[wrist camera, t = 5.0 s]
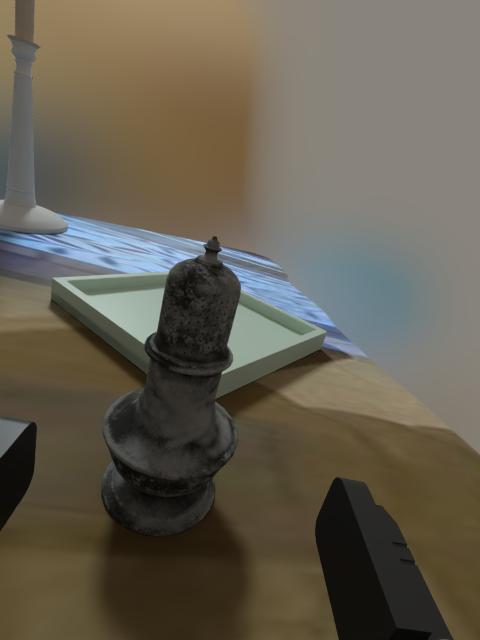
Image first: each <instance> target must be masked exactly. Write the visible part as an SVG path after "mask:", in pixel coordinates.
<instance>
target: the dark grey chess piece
mask: <svg viewBox="0 0 480 640" xmlns="http://www.w3.org/2000/svg"><path fill="white" fill-rule="evenodd" d="M219 244H220V243H219V242H218V241H217V237H215V236H213V237H212V239H210V240H209V241H208V243H207V244H204V245H203V246H204V248H205V249H206V253H205V255H200V256H198V257H197V258H196V259H187V260H184V261H182V262H179V263H177V264H176V265H175V266H174V267H173V268H171V270H170V271H169V274H168V276H167V278H166V284H165V289H164V295H163V300H162V306H161V311H160V317H159V323H158V328H157V332H155V333H153V334H151V335H150V336H149V337H147V339H146V341H145V344H144V346H145V351H146V353H147V355H148V356H149V357H150V362H149V367H148V373H147V379H146V384H145V387H144V388H141V389H138V390H134V391H131V392H129V393H127V394H126V395H124V396H122V397H120V398H118V399H117V400H116V401H115V402H114V403H113V404H112V405H111V406H110V407H109V409H108V411H107V413H106V415H105V417H104V419H103V436H104V439H105V441H106V444H107V447H108V448H109V451H110V454H111V457H112V460H113V461H112V462H111V463H110V465H109V466H108V467H107V469H106V471H105V474H104V476H103V479H102V493H101V494H102V497H103V501H104V504H105V507H106V508H107V510H108V511H109V513H110V514H111V515H112V517H113V518H114V519H115V520H116V521H118V522H119V523H120V524H122V525H123V526H124V527H125V528H128V529H130V530H133V531H135V532H137V533H140V534H145V535H152V536H165V535H175V534H177V533H180V532H183V531H185V530H188V529H190V528H191V527H193V526H194V525H196V524H197V523H198V522H200V521H201V520H202V519H203V518H204V516H205V515H206V514H207V513H208V511H209V510H210V507H211V505H212V502H213V499H214V495H215V483H214V480H213V477H214V476H215V474H216V473H217V472H218V471H219V470H220V469H221V467H223V466H224V465H225V464H226V463H227V462H228V461H229V460H230V458H231V457H232V456H233V454H234V451H235V449H236V446H237V443H238V436H237V429H236V426H235V424H234V421H233V419H232V418H231V416H230V415H229V414H228V413H227V411H226V410H225V409H224V408H223V407H222V406H220V405H219V404H218V403H217V402H216V401H215V397H216V393H217V390H218V386H219V382H220V378H221V375H222V372H223V371H225V370H226V369H228V368H229V367H230V366H231V364H232V362H233V354H232V352H231V350H230V348H229V347H228V346H227V344H228V341H229V337H230V333H231V329H232V325H233V322H234V318H235V314H236V310H237V306H238V303H239V299H240V295H241V285H240V282H239V280H238V277H237V276H236V275H235V274H234V273H233V272H232V270H231V269H230V268H228V267H226V266H224V265H223V263H222V261H221V260H219V259H217V253H218V252H220V251H222V249H221V248H220V247H219Z"/></svg>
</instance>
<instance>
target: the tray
mask: <svg viewBox="0 0 480 640" xmlns="http://www.w3.org/2000/svg"><path fill="white" fill-rule="evenodd" d="M168 274H169V272H152V273H134V274H115V275H97V276H79V277H61V278H52V293H51V299H52V300H53V301H54V302H56V303H57V304H58V305H60V306H61V307H62V308H63V309H65V310H66V311H67V312H68V313H70V314H71V315H72V316H74V317H75V318H76V319H77V320H79V321H80V322H81V323H82V324H84V325H85V326H86V327H87V328H89V329H90V330H91V331H93V332H94V333H95V334H96V335H98V336H99V337H100V338H101V339H103V340H104V341H105V342H107V343H108V344H109V345H110V346H112V347H113V348H114V349H115V350H117V351H118V352H119V353H121V354H122V355H123V356H124V357H126V358H127V359H128V360H129V361H131V362H132V363H133V364H135V365H136V366H137V367H138V368H140V369H141V370H142V371H143V372H145V373H146V374H147V373H148V367H149V362H150V357H149V356H148V355H147V353H146V351H145V346H144V344H145V341H146V339H147V337H149V336H150V335H151V334H153V333H155V332H157V328H158V323H159V317H160V311H161V306H162V300H163V295H164V289H165V284H166V278H167V276H168ZM326 334H327V331H325V330H323V329H321V328H319V327H317V326H314V325H312V324H310V323H308V322H306V321H304V320H302V319H300V318H298V317H296V316H294V315H292V314H290V313H288V312H286V311H284V310H282V309H279V308H277V307H275V306H273V305H271V304H269V303H267V302H265V301H263V300H261V299H259V298H257V297H255V296H253V295H251V294H249V293H247V292H244V291H242V290H241V295H240V299H239V303H238V306H237V310H236V314H235V318H234V322H233V325H232V329H231V333H230V337H229V341H228V344H227V346H228V347H229V348H230V350H231V352H232V354H233V362H232V364H231V366H230V367H229V368H228V369H226V370H225V371H223V372H222V375H221V378H220V382H219V386H218V390H217V393H216V397H215V399H217V398H219V397H221V396H223V395H225V394H227V393H229V392H231V391H234V390H236V389H238V388H240V387H242V386H244V385H246V384H248V383H250V382H252V381H255V380H257V379H259V378H261V377H263V376H265V375H267V374H269V373H271V372H273V371H275V370H278V369H280V368H282V367H284V366H286V365H288V364H290V363H292V362H294V361H296V360H299V359H301V358H303V357H305V356H307V355H309V354H311V353H313V352H315V351H317V350H320V349H321V347H322V344H323V342H324V339H325V336H326Z"/></svg>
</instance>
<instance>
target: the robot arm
mask: <svg viewBox="0 0 480 640" xmlns="http://www.w3.org/2000/svg"><path fill="white" fill-rule="evenodd" d="M36 432H37V426H36V423H34V422H30V421H25V420H19V419H14V418H8V417H1V418H0V531H1V529H2V528H3V526H4V525H5V523H6V522H7V520H8V519H9V517H10V516H11V514H12V513H13V511H14V510H15V508H16V507H17V505H18V504H19V502H20V501H21V499H22V498H23V496H24V495H25V493H26V491H27V489H28V487H29V485H30V482H31V480H32V477H33V473H34V465H35V448H36ZM315 537H316V543H317V548H318V552H319V556H320V561H321V565H322V569H323V573H324V578H325V582H326V586H327V591H328V595H329V599H330V603H331V608H332V612H333V616H334V621H335V625H336V629H337V633H338V638H339V640H453V638H452V636H451V634H450V632H449V630H448V628H447V626H446V624H445V622H444V620H443V618H442V616H441V614H440V612H439V610H438V608H437V605H436V603H435V601H434V599H433V597H432V595H431V593H430V591H429V589H428V587H427V585H426V583H425V581H424V579H423V577H422V574H421V572H420V570H419V568H418V566H417V565H415V560H414V558H413V556H412V554H411V552H410V550H409V548H407V543H406V541H405V539H404V537H403V535H402V533H401V531H400V529H399V527H398V525H397V523H396V522H395V521H394V520H393V519H392V517H391V516H390V515H389V514H388V513H387V511H386V510H385V509H384V508H383V507H382V506H380V505H376V504H375V502H374V500H373V498H372V495H371V493H370V491H369V489H368V487H367V485H366V484H365V483H364V482H360V481H355V480H350V479H344V478H339V477H337V478H335V479H334V480H333V482H332V484H331V487H330V489H329V491H328V493H327V496H326V498H325V500H324V503H323V505H322V507H321V509H320V512H319V514H318V517H317V520H316V527H315Z"/></svg>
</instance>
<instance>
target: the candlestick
mask: <svg viewBox="0 0 480 640" xmlns="http://www.w3.org/2000/svg"><path fill="white" fill-rule="evenodd" d="M15 5H16V6H15V36H13V35H7V36H8V37H9V38H10V40H11V42H12V45H13V47H12V53H13V55H14V56H15V57H16V59H15V60H16V65H17V67H16V70H15V71H14V73H15V76H14V89H13V104H12V119H11V134H10V149H9V163H8V178H7V186H6V188H7V191H6V195H5V200H0V229H3V230H9V231H15V232H23V233H34V234H56V233H62V232H65V231H67V229H68V224H67V223H66V221H65V220H64V219H62V218H61V217H60V216H59V215H57V214H55V213H53V212H52V211H49V210H47V209H45V208H43V207H40V206H37V205H36V201H35V195H34V193H35V190H34V149H33V100H32V79H33V77H32V76H31V71H30V70H31V66H32V64H31V63H32V62H34V61H35V60H36V57H35V52H36V50H37V49H39V48H40V46H38V45H37V44H35V43H33V33H34V0H16V3H15Z"/></svg>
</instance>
